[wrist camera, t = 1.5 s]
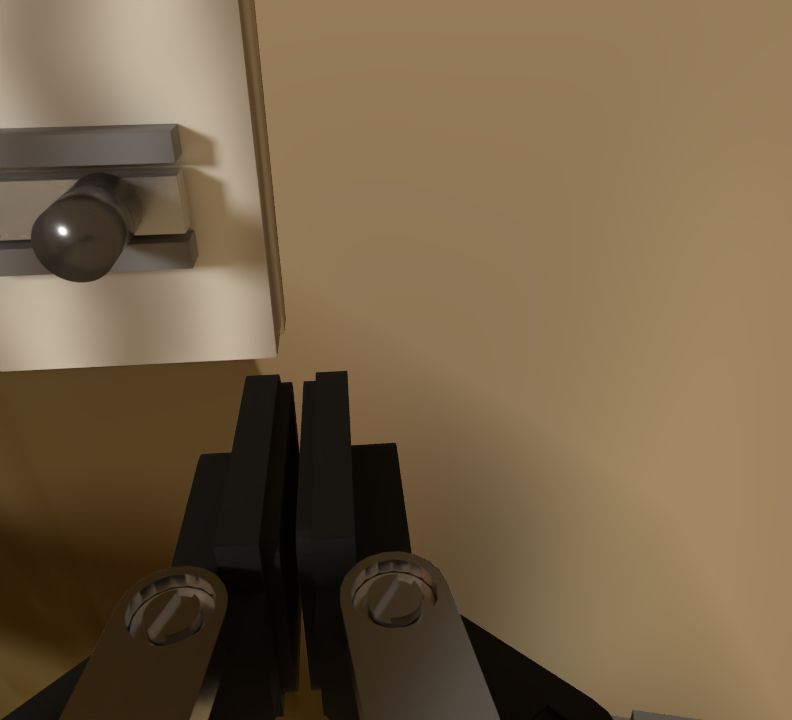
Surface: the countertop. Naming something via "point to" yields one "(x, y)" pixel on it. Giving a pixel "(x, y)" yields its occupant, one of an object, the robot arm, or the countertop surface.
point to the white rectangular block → (143, 148)
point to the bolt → (90, 214)
